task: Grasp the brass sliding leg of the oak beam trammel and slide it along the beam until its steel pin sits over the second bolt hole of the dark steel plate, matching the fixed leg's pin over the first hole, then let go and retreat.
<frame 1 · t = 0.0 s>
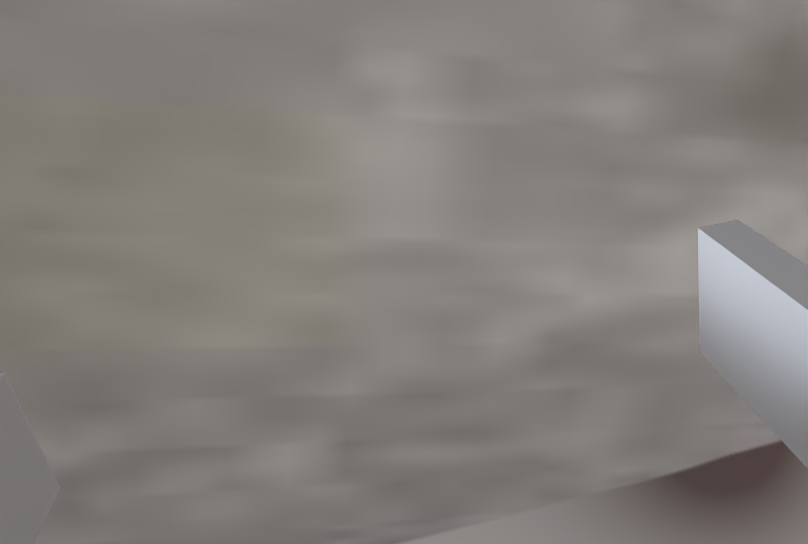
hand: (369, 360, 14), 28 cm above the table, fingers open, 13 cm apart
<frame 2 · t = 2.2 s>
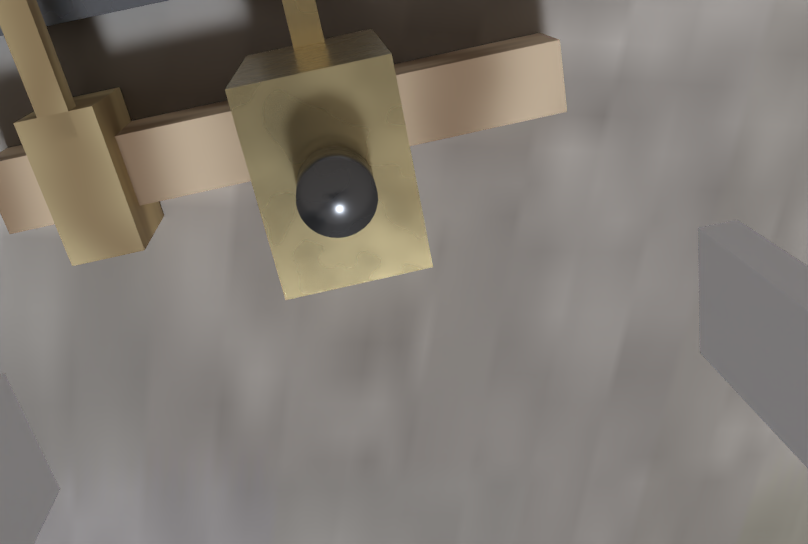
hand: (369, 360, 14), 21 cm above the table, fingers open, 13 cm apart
sliding leg: (304, 36, 25), point 7 cm above the table, slide at 2.0 cm
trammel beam: (284, 122, 33), on the table
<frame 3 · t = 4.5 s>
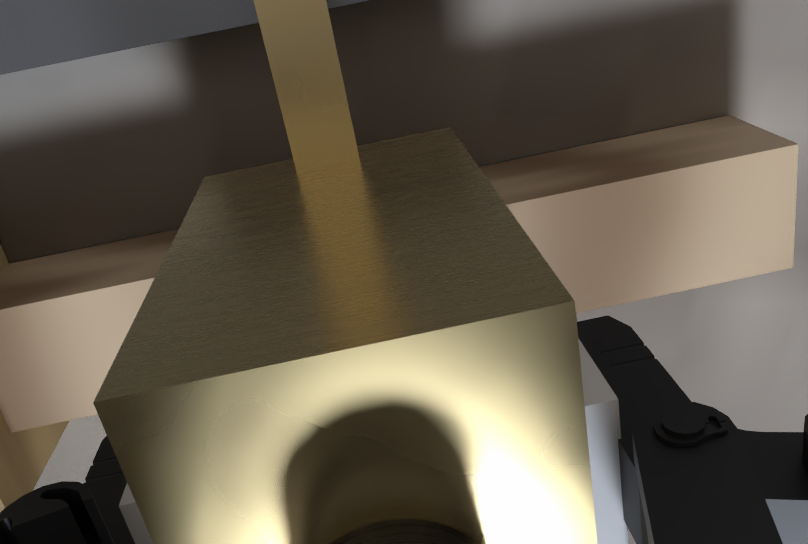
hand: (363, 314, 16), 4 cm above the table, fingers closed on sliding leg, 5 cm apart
sliding leg: (321, 182, 11), point 7 cm above the table, slide at 2.0 cm, touching gripper
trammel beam: (280, 264, 19), on the table
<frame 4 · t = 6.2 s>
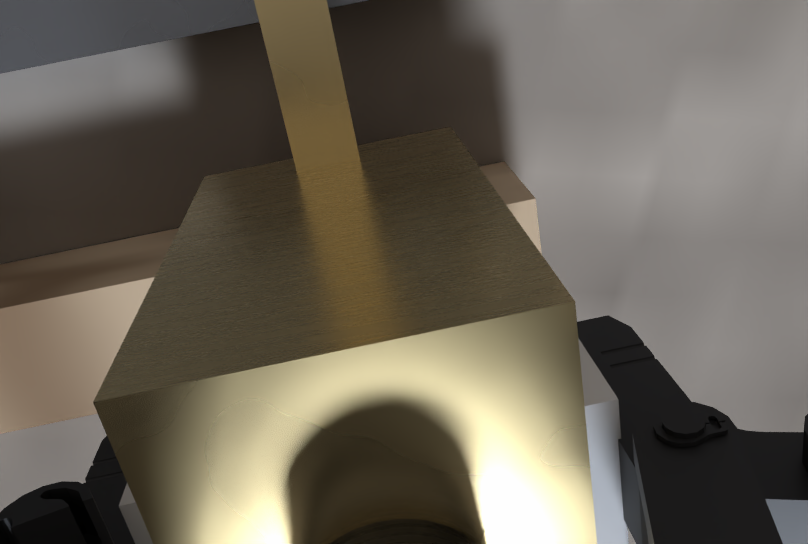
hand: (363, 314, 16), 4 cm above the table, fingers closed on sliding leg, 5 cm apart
sliding leg: (321, 182, 11), point 7 cm above the table, slide at 7.9 cm, touching gripper
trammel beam: (56, 310, 19), on the table
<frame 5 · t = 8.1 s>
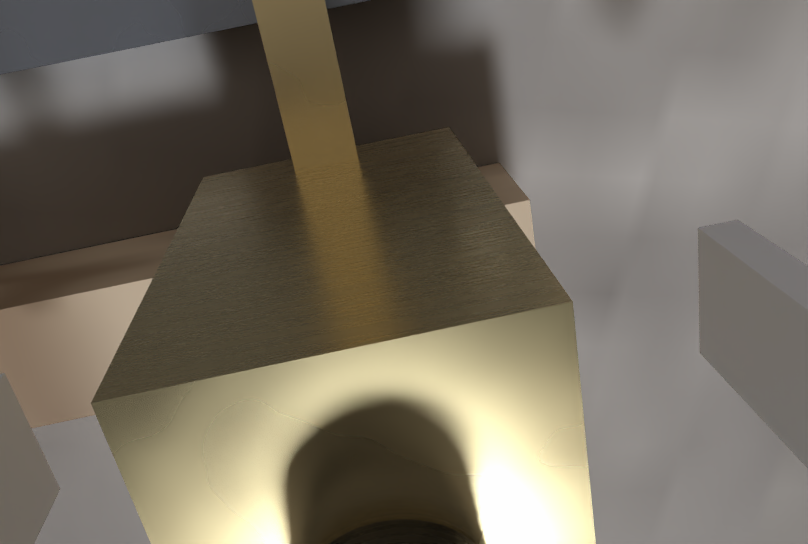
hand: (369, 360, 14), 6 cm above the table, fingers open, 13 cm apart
sliding leg: (319, 182, 11), point 7 cm above the table, slide at 8.0 cm
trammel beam: (51, 311, 19), on the table
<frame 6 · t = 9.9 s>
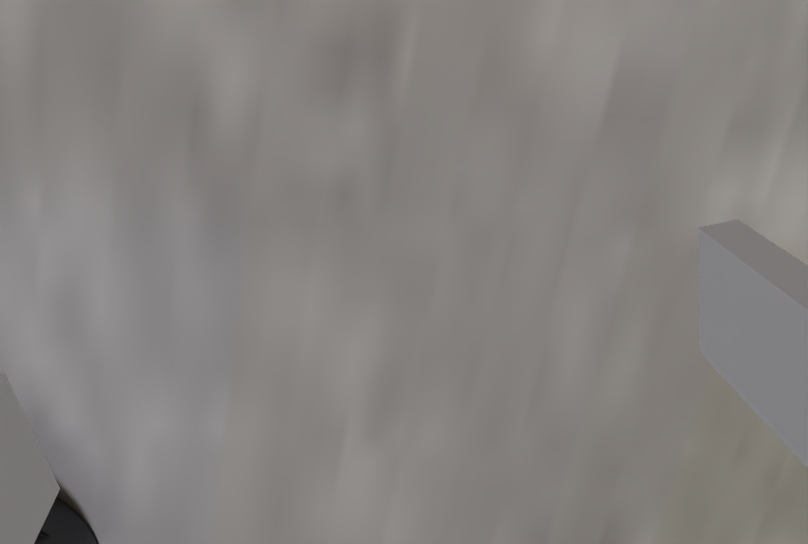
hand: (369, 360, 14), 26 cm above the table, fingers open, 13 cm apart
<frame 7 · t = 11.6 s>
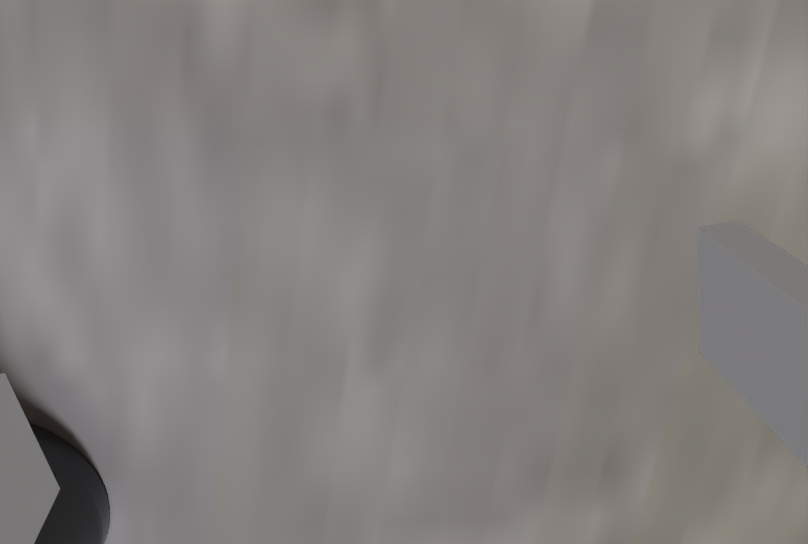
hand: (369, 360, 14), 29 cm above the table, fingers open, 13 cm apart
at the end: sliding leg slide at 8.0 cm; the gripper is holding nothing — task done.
